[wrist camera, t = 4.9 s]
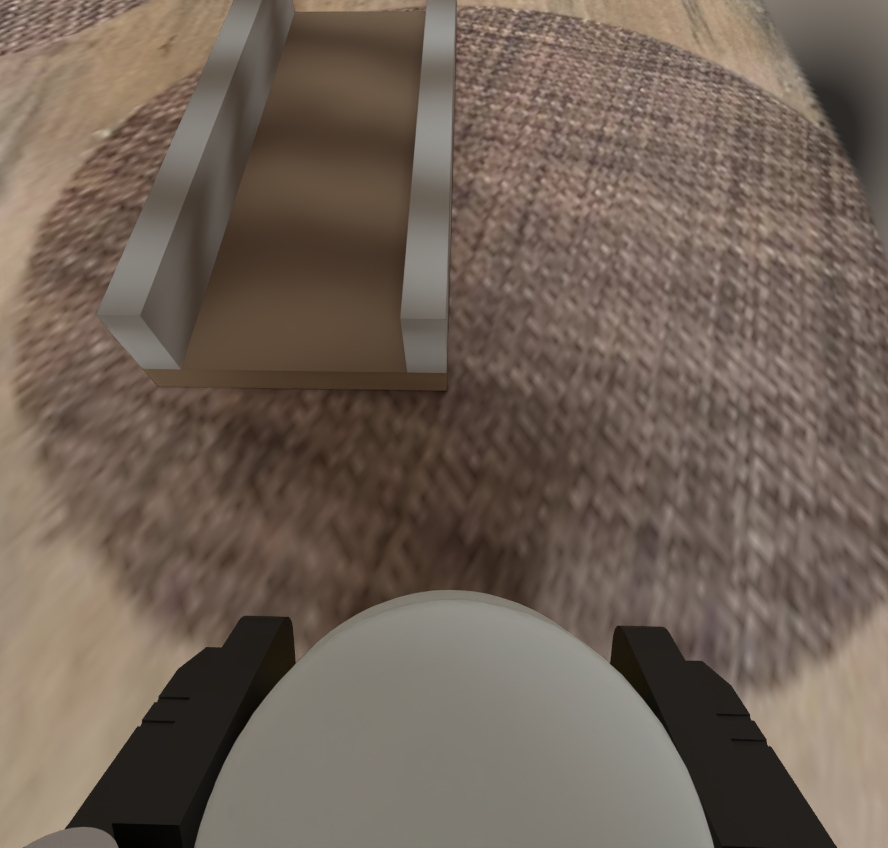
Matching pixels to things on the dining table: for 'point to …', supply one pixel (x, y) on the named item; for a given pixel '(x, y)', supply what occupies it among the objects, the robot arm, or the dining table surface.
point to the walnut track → (301, 209)
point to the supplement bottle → (453, 742)
